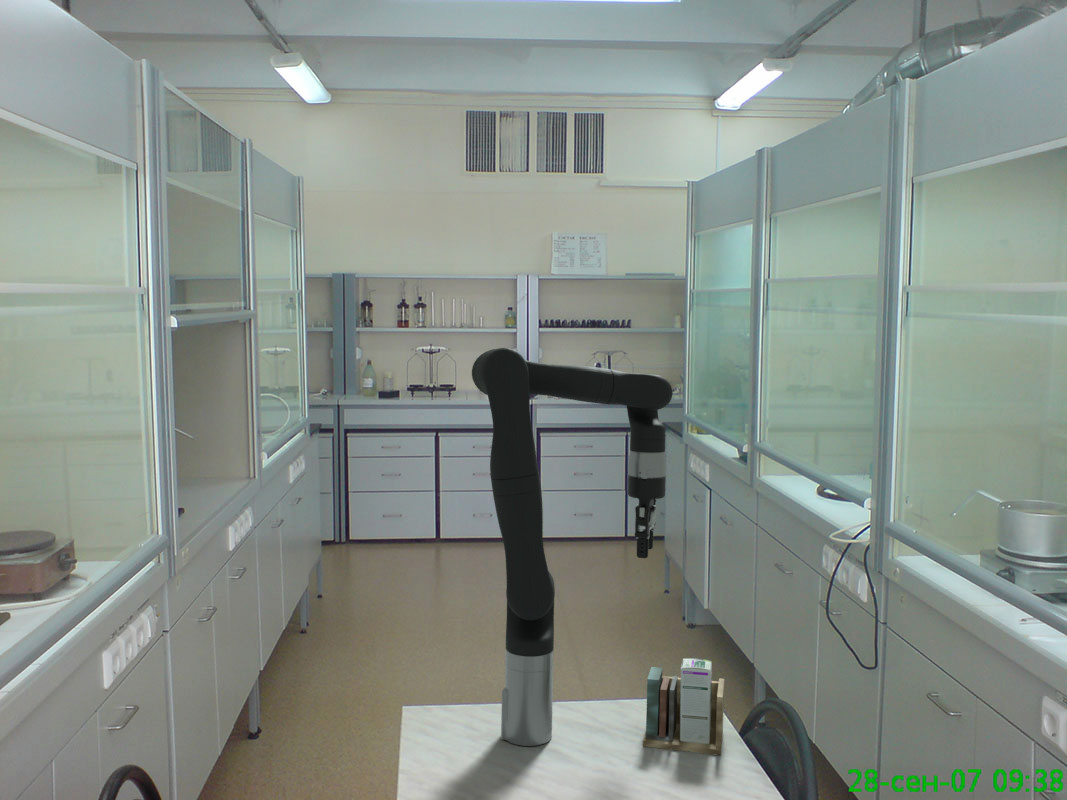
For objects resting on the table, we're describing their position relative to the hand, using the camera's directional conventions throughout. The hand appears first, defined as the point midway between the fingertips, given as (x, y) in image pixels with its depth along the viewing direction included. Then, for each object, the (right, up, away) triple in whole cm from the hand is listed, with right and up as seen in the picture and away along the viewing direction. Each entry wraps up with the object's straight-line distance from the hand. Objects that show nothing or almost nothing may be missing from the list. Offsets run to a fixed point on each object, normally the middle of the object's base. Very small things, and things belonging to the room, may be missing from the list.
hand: (644, 553), depth 184 cm
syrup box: (+8, -34, -9) cm, 36 cm away
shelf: (+6, -35, -8) cm, 36 cm away
